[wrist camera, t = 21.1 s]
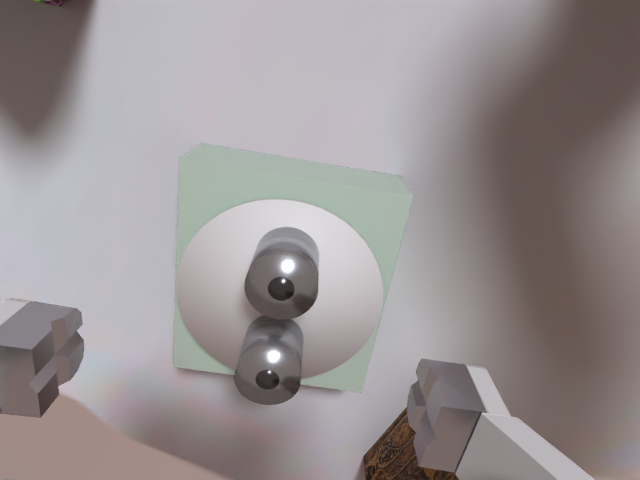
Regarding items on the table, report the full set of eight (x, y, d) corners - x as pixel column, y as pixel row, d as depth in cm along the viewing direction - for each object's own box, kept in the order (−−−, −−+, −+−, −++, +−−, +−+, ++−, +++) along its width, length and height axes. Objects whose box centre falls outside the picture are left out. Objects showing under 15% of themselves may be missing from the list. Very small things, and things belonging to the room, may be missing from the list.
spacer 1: (324, 232, 32) (324, 262, 28) (313, 288, 34) (311, 325, 30) (259, 221, 32) (248, 250, 27) (252, 278, 34) (240, 314, 29)
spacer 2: (308, 318, 35) (305, 358, 31) (299, 365, 37) (295, 409, 33) (248, 309, 35) (237, 348, 31) (243, 357, 37) (231, 400, 33)
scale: (400, 175, 38) (417, 202, 31) (355, 357, 46) (360, 410, 40) (200, 142, 37) (172, 162, 30) (191, 334, 45) (167, 384, 39)
